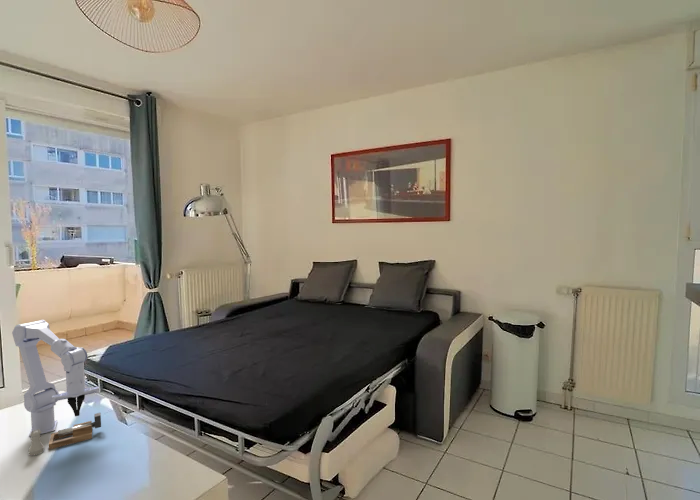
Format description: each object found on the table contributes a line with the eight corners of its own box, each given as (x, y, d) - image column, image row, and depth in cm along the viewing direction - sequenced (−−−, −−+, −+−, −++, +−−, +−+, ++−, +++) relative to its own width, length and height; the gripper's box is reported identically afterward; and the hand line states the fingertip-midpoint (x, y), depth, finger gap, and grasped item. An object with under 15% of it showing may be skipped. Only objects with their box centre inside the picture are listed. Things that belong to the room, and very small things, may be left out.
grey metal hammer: (58, 434, 142) (58, 422, 142) (101, 423, 150) (100, 412, 150) (57, 437, 140) (57, 425, 140) (101, 427, 147) (100, 415, 147)
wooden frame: (51, 438, 144) (51, 428, 144) (92, 428, 151) (91, 418, 151) (48, 449, 136) (48, 438, 136) (91, 438, 143) (91, 427, 143)
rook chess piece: (35, 456, 132) (34, 434, 132) (25, 455, 133) (23, 433, 133) (47, 449, 136) (46, 428, 136) (37, 448, 137) (36, 427, 137)
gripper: (50, 388, 136) (52, 424, 137) (98, 379, 144) (99, 413, 145) (52, 382, 142) (54, 417, 143) (98, 374, 150) (99, 407, 151)
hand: (77, 415), depth 144 cm, fingers closed
